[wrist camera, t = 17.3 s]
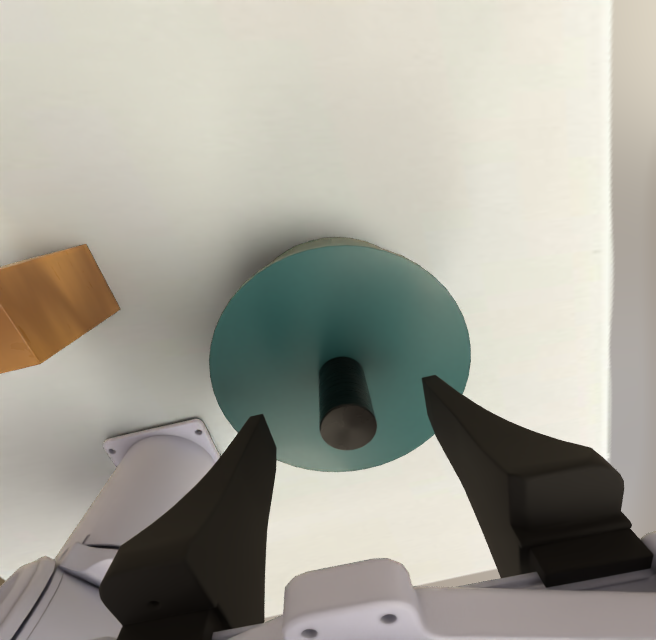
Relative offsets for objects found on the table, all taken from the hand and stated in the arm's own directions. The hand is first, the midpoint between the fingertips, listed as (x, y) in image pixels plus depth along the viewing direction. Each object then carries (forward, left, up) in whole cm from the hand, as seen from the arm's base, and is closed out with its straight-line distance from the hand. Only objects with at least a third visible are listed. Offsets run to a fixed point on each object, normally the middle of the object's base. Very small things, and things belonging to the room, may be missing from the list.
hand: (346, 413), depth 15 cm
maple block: (+7, +15, -9) cm, 19 cm away
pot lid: (0, 0, -4) cm, 3 cm away
